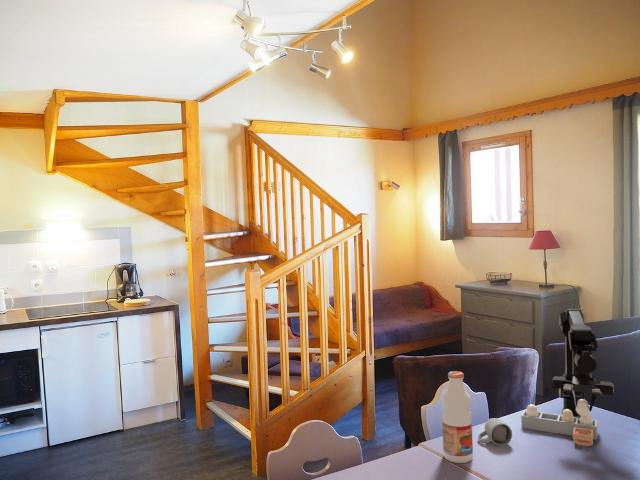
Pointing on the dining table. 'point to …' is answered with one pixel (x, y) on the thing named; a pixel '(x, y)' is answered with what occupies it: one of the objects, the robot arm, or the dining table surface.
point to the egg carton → (556, 421)
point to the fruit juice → (457, 421)
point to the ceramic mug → (496, 432)
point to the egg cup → (583, 436)
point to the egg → (582, 407)
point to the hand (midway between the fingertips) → (582, 410)
